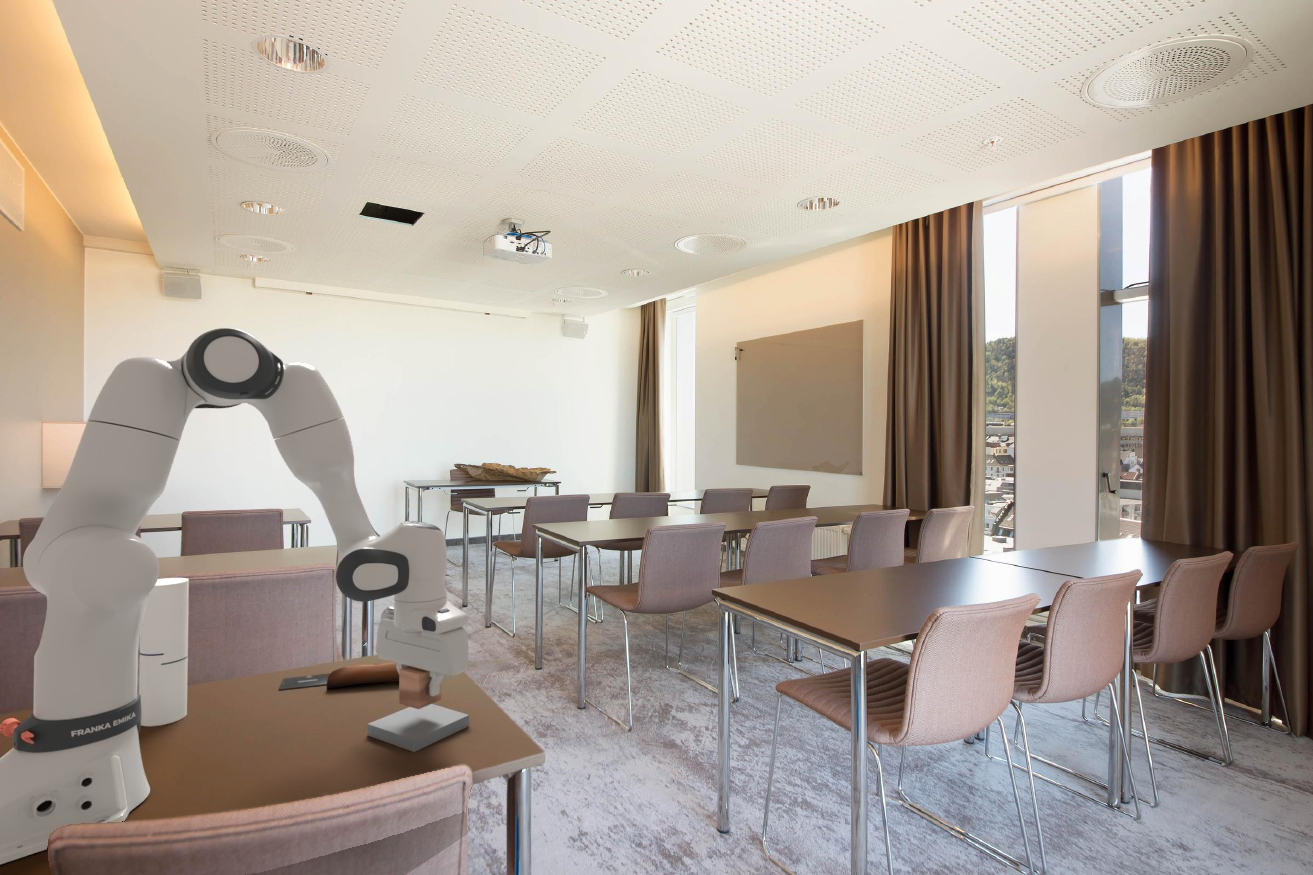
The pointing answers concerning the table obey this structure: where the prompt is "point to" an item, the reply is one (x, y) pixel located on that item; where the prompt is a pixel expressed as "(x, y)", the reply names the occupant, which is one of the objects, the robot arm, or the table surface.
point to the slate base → (418, 726)
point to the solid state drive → (304, 682)
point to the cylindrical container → (164, 653)
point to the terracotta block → (415, 688)
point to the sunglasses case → (363, 674)
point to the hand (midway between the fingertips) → (420, 691)
